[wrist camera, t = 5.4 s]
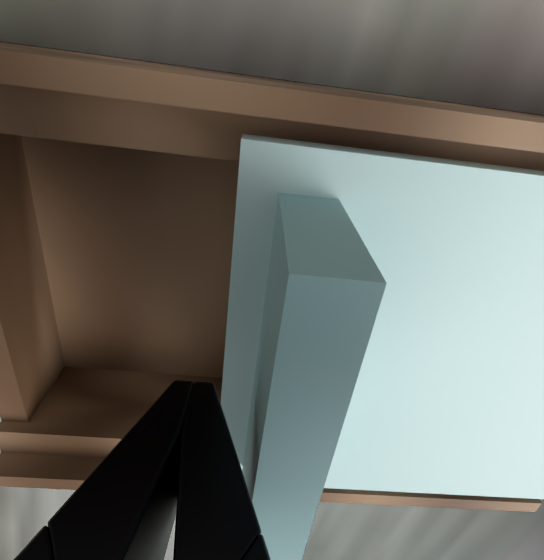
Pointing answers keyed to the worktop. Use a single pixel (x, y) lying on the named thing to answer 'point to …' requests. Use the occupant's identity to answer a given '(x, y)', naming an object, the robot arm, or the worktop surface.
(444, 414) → the lid
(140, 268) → the walnut box
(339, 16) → the worktop surface
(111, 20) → the worktop surface
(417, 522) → the worktop surface
